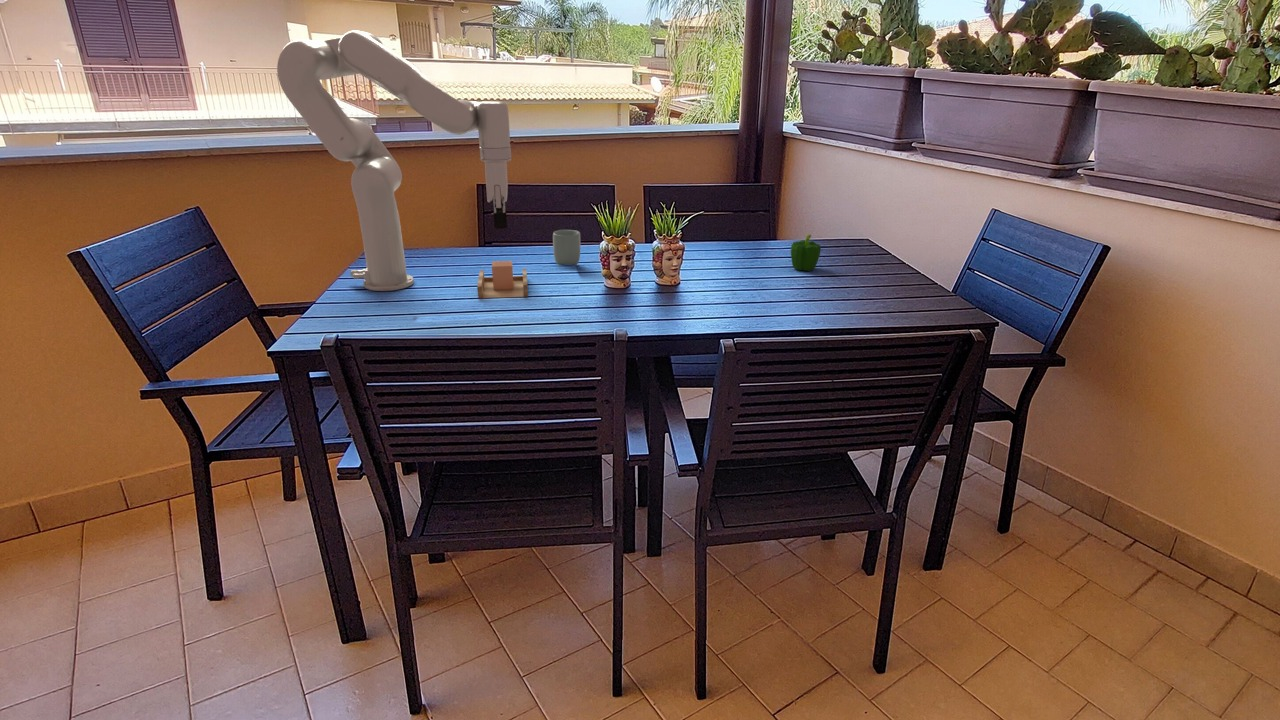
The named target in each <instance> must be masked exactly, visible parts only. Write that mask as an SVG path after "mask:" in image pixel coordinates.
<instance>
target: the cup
mask: <svg viewBox="0 0 1280 720" xmlns="http://www.w3.org/2000/svg"><path fill="white" fill-rule="evenodd" d="M552 248H553V257H554V261H555V263H556V264H558V265H564V266H565V265H566V266H568V265H570V266H571V265H575V267H577V265H578V264H579V263H580V258H581V232H580V231H579V230H574V229H559V230H554V231H553V233H552Z"/></svg>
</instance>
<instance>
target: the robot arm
mask: <svg viewBox="0 0 1280 720" xmlns="http://www.w3.org/2000/svg"><path fill="white" fill-rule="evenodd" d="M276 71H277V77H278V82H279V84H280V87H281V89H282V91H283V94H284V95H285V97H286V98H287V99H288V101H289V102H290V103H291V105H292V106H293V108H294V109H295V110H296V111H297V113H298V114H299V115H300V116H301V118H302V119H303V120H304V121H305V122H306V124H307V126H308V127H309V128H310V129H311V131H312V132H313V133H314V134H315V135H316V137H317V138H318V140H319V141H320V142H321V143H322V145H323V146H324V148H325V149H326V150H327V151H328V153H329V154H330V155H331V156H333V158H334V159H336V160H338V161H341V162H351V164H353V166H354V167H355V168H354V170H353V172H352V174H351V178H350V183H351V190H352V194H353V197H354V201H355V204H356V209H357V214H358V221H359V226H360V230H361V231H360V232H361V238H362V245H363V250H364V257H365V263H366V268H362V269H351V270H350V277H351V278H353V279H354V280H359V279H363V281H362V285H363V288H364V289H366V290H370V291H375V292H390V291H392V292H393V291H397V290H398V291H399V290H402V289H406V288H408V287H410V286H412V285H413V284H414V283H415V281H414V277H413V276H412V275H410V274H408V273H407V265H406V264H407V263H406V259H405V258H406V257H405V251H404V243H403V235H402V227H401V221H400V220H401V219H400V214H399V209H398V205H397V204H398V203H397V200H396V196H395V192H396V191H397V190H399V187H400V186H401V184H402V181H403V173H402V170H401V168H400V166H399V164H398V162H397V161H396V159H395V158H394V157H393V155H392V154H391V153H390V151H389V150H388V149H387V147H386V146H385V145H384V143H383V142H382V140H380V138H379V136H377V133H376V132H375V131H374V130H373V128H371V127H370V125H368V124H367V123H365V122H364V121H362V120H360V119H358V118H353V117H349V116H347V114H346V113H345V111H344V110H343V109H342V108H341V107H340V105H339V104H338V102H337V101H336V99H335V98H334V97H333V96H332V95H331V94H330V92H328V90H327V89H326V88H325V87H324V86H323V85H322V83H321V81H322V80H323V81H324V80H331V79H336V78H342V77H347V76H353V75H354V76H355V75H358V74H359V75H361V76H363V77H364V78H366V79H367V80H369V81H370V82H372V83H374V84H375V85H377V86H378V87H380V88H382V89H383V90H385V91H387V92H388V93H389V94H391V95H392V96H395V97H396V98H397V99H399V100H400V101H401V102H402V103H403V104H405V105H406V106H408V107H410V109H412V110H413V111H415V112H416V113H418V114H419V115H420V116H422V117H424V119H426V120H428V121H429V122H431V123H433V124H434V125H435V126H438V128H440V129H442V130H444V131H445V132H448V133H450V134H452V135H455V136H456V135H457V136H463V135H465V134H468V133H469V132H474V131H477V132H478V143H479V145H478V146H479V155H480V162H483V163H484V171H485V172H484V173H485V187H486V201H487V203H491V202H493V225H494V229H495V230H498V229H507V228H508V220H507V211H506V202H507V200H508V190H509V189H508V188H509V187H508V186H509V185H508V184H509V183H508V180H509V179H508V166H507V165H508V164H507V163H508V162H512V150H511V133H510V120H509V119H510V118H509V108H508V105H507V103H506V102H504V101H499V100H484V101H483V100H482V101H475V100H474V101H473V100H466V99H456V98H455V97H453V96H452V95H450V94H449V93H447V92H445V91H444V90H442V89H441V88H440V87H438V86H436V85H435V84H434V83H432V82H431V81H430V80H429V79H428V78H427V77H426V76H425V75H424V74H423V73H422V71H421V70H420V68H419V67H417V66H416V65H415V64H414V63H412V62H411V61H409V60H407V59H405V58H404V57H402V56H401V55H399V54H398V53H396V52H394V51H393V50H392V49H390V48H389V47H387V46H385V44H383V42H382V41H381V39H380V38H378V37H377V36H376V35H374V34H373V33H370V32H366V31H362V30H350V31H348V32H346V33H344V34H343V35H342V37H341V36H340V37H336V38H329V39H321V40H313V39H312V40H311V39H303V38H301V39H294V40H293V41H290V42H288V43H287V44H286V45H285V46H284V47H283V48H282V50H281V52H280V54H279V57H278V59H277V65H276Z"/></svg>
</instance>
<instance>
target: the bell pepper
mask: <svg viewBox="0 0 1280 720" xmlns="http://www.w3.org/2000/svg"><path fill="white" fill-rule="evenodd" d="M811 238H812V235H811V234H809V233H808V234H807V236H806V238H805V240H803V239H802V240H800V241H794V242H792V244H791V247H790V257H791V264H792V267H793V269H794V270H797V271H805V272H810V271H811V272H812V271H814V270H815V268H816V266H817V264H818V261H819V259H820V256H821V244H819V243H816V242H815V241H813V240H812V241H810V239H811Z"/></svg>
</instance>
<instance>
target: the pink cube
mask: <svg viewBox="0 0 1280 720" xmlns="http://www.w3.org/2000/svg"><path fill="white" fill-rule="evenodd" d="M513 267H514V266H513V260H495V261H494V260H493V261H492V263H491V273H492V276H491V277H493V289H494V290H497V289H514V282H513V276H514V269H513Z"/></svg>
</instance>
